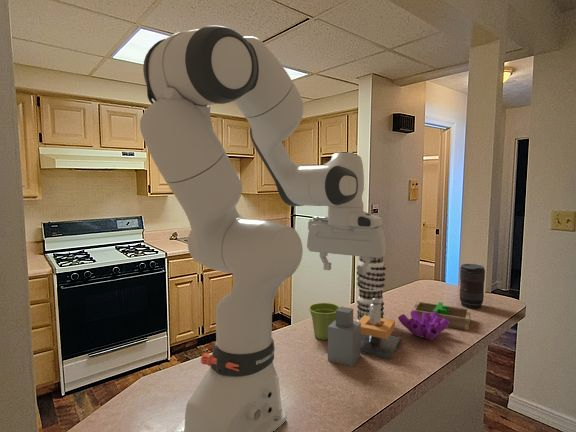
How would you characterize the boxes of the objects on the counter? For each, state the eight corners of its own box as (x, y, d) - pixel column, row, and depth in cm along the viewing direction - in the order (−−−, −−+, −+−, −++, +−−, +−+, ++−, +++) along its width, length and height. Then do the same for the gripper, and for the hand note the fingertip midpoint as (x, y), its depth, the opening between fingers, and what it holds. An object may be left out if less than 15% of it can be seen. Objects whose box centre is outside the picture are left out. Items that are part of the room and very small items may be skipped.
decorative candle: (386, 319, 122) (387, 245, 120) (382, 329, 114) (384, 250, 111) (358, 315, 126) (359, 243, 123) (353, 325, 117) (354, 248, 115)
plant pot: (303, 338, 107) (303, 310, 107) (316, 327, 116) (316, 300, 115) (333, 345, 103) (333, 315, 102) (344, 332, 111) (344, 305, 111)
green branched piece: (444, 326, 116) (444, 312, 115) (432, 323, 118) (432, 310, 117) (449, 315, 125) (450, 303, 124) (438, 313, 127) (439, 301, 126)
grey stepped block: (352, 366, 91) (352, 315, 90) (327, 360, 95) (327, 311, 93) (360, 355, 97) (361, 307, 96) (337, 349, 100) (337, 303, 99)
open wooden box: (468, 330, 113) (468, 319, 112) (411, 320, 121) (411, 310, 121) (470, 319, 121) (470, 309, 121) (416, 311, 130) (417, 301, 129)
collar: (386, 339, 96) (387, 331, 96) (354, 332, 101) (354, 325, 101) (394, 327, 104) (395, 320, 104) (364, 321, 109) (364, 315, 108)
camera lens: (453, 304, 137) (455, 264, 135) (469, 301, 140) (470, 262, 139) (472, 311, 129) (474, 269, 128) (488, 307, 133) (490, 267, 131)
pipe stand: (390, 359, 95) (391, 308, 93) (347, 349, 101) (347, 301, 99) (401, 341, 105) (402, 295, 104) (360, 333, 111) (361, 290, 110)
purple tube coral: (405, 351, 106) (389, 320, 110) (431, 337, 116) (415, 308, 120) (435, 338, 99) (417, 306, 102) (461, 324, 108) (443, 295, 112)
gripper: (303, 216, 95) (302, 269, 96) (381, 220, 85) (380, 279, 86) (313, 215, 100) (312, 265, 101) (388, 218, 90) (387, 274, 91)
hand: (344, 271), depth 93 cm, fingers open, 8 cm apart
